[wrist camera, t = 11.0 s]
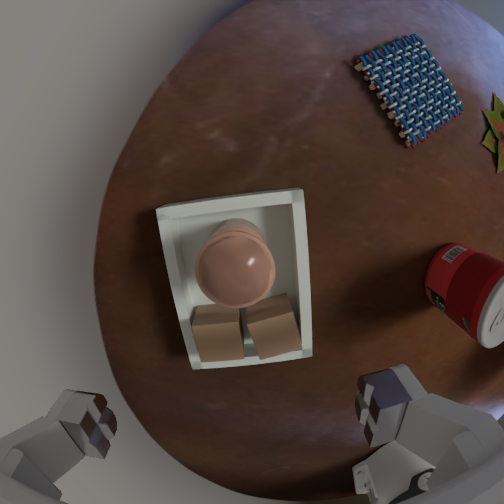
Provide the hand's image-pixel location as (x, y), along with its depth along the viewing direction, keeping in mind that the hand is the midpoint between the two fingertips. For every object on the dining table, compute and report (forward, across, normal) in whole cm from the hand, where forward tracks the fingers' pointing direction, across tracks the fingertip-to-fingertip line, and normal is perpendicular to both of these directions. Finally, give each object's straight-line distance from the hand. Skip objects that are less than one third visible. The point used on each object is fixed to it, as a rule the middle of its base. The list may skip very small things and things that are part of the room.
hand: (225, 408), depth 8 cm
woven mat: (+20, -20, -15) cm, 32 cm away
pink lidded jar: (+19, 0, 0) cm, 19 cm away
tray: (+20, 0, +3) cm, 20 cm away
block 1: (+19, +3, +7) cm, 21 cm away
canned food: (+20, -24, +6) cm, 32 cm away
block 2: (+19, -2, +7) cm, 21 cm away
